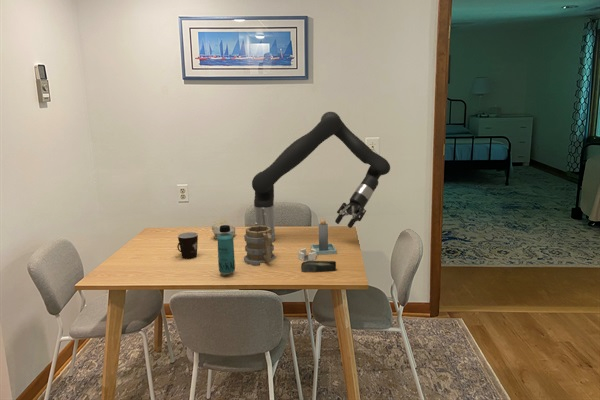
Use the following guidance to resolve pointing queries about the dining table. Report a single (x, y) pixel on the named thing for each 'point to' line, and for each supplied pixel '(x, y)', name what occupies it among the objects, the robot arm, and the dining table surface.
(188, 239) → the coffee mug
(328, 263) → the mobile phone
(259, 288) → the dining table surface
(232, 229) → the fossil replica
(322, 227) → the grey tan rounded cylinder
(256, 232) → the tankard
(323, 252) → the tray
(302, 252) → the round holder stand
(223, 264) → the beverage bottle
